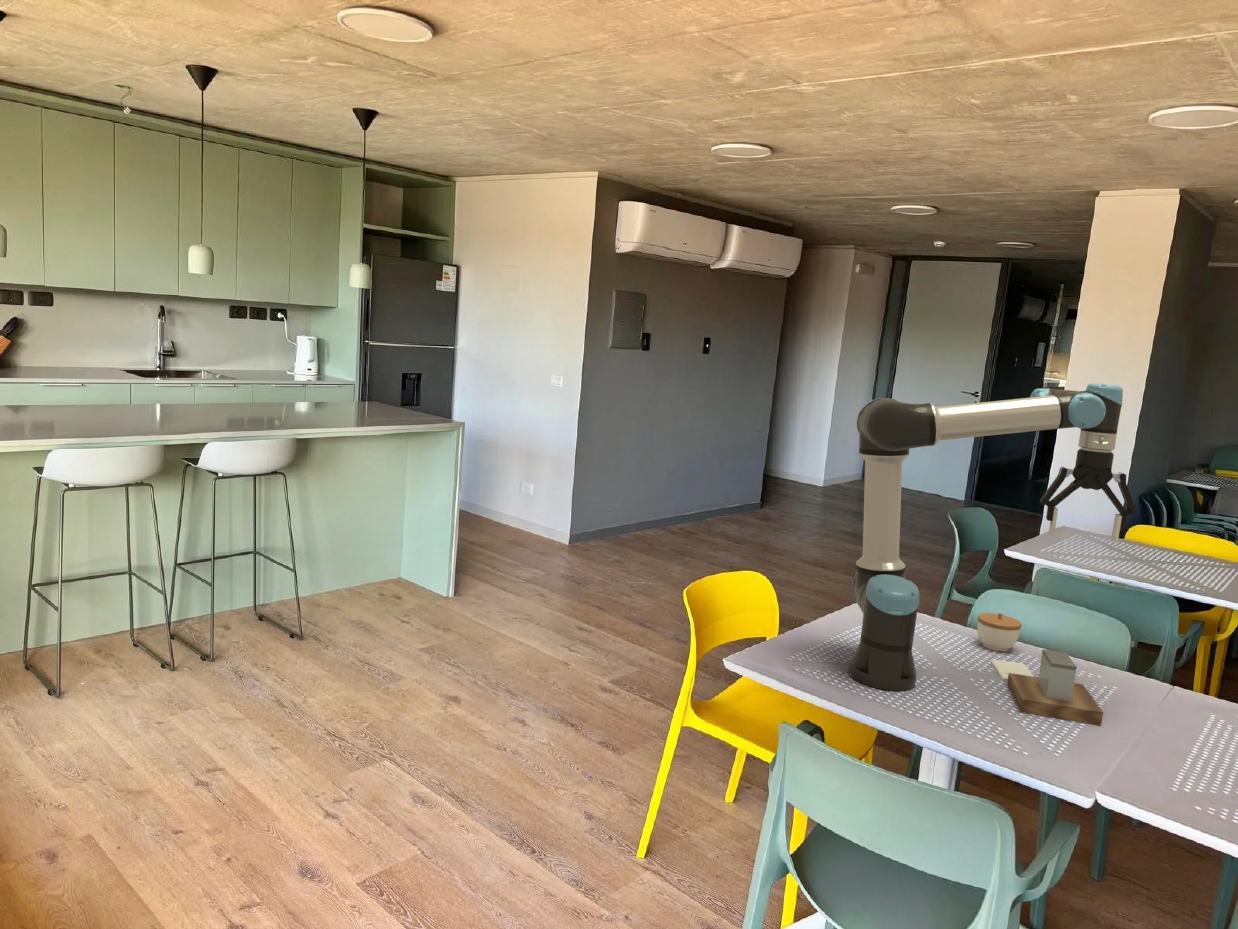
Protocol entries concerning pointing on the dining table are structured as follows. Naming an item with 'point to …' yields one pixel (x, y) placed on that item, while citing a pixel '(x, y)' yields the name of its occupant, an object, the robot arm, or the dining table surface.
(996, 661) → the external hard drive
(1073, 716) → the walnut stand
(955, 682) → the dining table surface
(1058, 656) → the block
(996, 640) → the lidded jar
